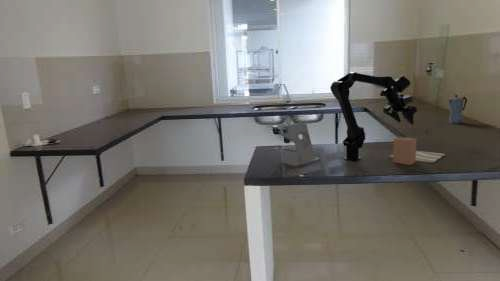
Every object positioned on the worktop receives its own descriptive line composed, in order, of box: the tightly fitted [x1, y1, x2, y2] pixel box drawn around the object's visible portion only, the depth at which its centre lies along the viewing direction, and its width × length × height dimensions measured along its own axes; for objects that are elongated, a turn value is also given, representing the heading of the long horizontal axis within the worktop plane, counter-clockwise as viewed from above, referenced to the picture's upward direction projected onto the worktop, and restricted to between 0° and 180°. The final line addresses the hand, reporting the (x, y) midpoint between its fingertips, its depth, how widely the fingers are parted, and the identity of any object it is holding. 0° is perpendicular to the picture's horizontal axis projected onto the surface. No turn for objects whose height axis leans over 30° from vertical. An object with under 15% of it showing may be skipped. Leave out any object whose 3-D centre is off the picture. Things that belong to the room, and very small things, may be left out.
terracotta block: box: [392, 136, 418, 166], centre depth 171 cm, size 6×8×11 cm
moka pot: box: [447, 94, 468, 124], centre depth 264 cm, size 10×15×20 cm, turn 107°
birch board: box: [388, 150, 446, 164], centre depth 181 cm, size 18×20×1 cm
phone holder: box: [279, 122, 320, 167], centre depth 181 cm, size 17×10×18 cm, turn 126°
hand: (406, 123), depth 188 cm, fingers open, 9 cm apart
